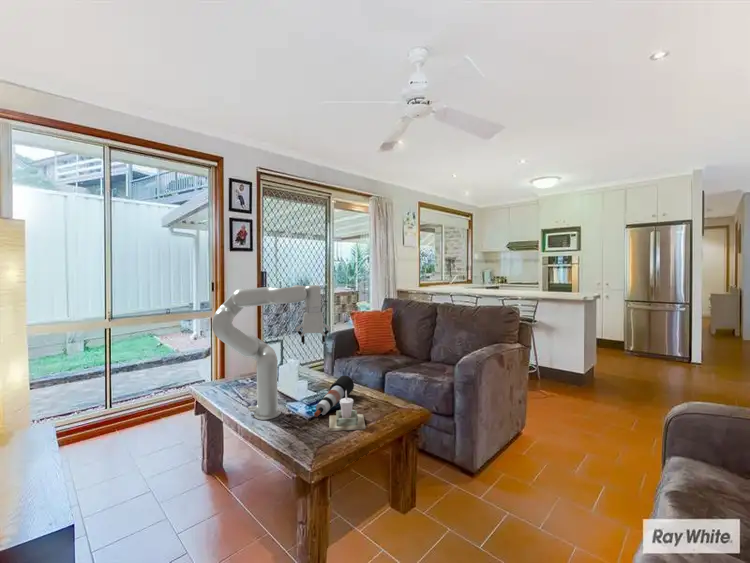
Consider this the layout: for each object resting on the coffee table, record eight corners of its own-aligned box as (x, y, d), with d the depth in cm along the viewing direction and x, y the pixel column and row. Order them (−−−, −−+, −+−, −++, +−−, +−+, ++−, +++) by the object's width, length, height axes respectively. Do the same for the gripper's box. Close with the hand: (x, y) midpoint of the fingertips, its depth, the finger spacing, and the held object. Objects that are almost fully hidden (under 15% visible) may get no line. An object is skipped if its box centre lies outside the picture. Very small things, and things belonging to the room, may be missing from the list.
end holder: (329, 430, 157) (329, 421, 157) (329, 418, 170) (329, 409, 170) (365, 428, 159) (365, 419, 159) (362, 416, 172) (362, 407, 172)
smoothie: (350, 416, 169) (350, 387, 168) (355, 422, 163) (355, 392, 162) (337, 419, 166) (337, 390, 165) (342, 425, 160) (342, 394, 159)
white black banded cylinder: (312, 427, 170) (303, 408, 170) (342, 395, 202) (334, 379, 202) (329, 421, 166) (319, 402, 166) (357, 389, 198) (348, 373, 198)
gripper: (294, 311, 174) (295, 345, 175) (330, 310, 176) (330, 345, 177) (296, 309, 181) (296, 342, 182) (330, 308, 183) (330, 341, 184)
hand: (313, 343), depth 179 cm, fingers open, 9 cm apart
